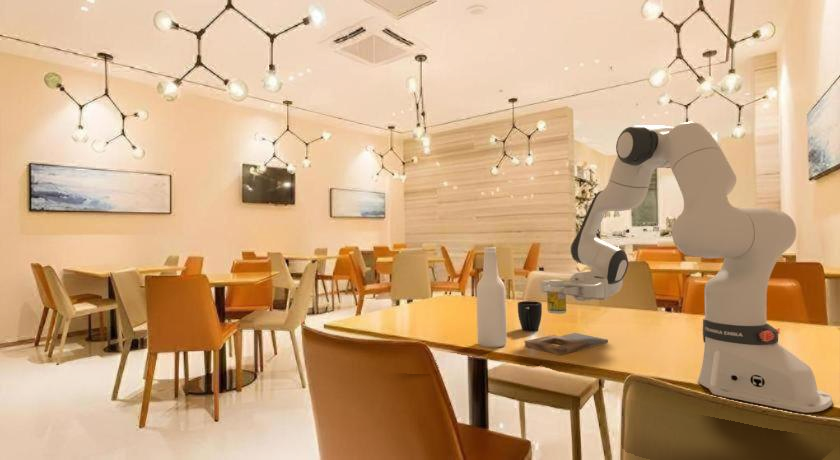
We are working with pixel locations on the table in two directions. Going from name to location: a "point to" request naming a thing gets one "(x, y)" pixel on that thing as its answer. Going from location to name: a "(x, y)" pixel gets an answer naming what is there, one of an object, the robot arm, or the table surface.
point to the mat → (586, 339)
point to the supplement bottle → (556, 297)
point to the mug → (530, 315)
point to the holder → (565, 348)
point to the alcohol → (491, 304)
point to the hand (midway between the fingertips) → (554, 290)
